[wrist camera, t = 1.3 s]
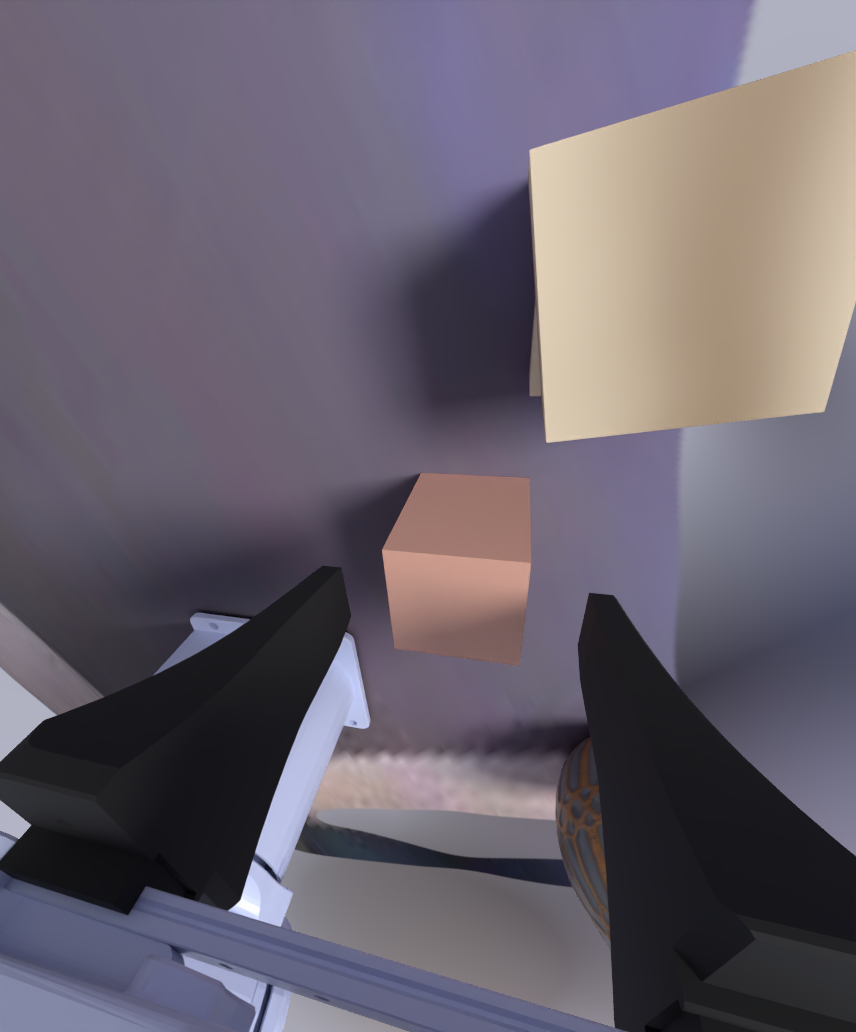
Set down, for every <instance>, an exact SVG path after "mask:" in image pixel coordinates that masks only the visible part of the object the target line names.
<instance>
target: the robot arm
mask: <svg viewBox="0 0 856 1032" xmlns="http://www.w3.org/2000/svg"><path fill="white" fill-rule="evenodd" d="M350 617H351V614H350V609H349V604H348V599H347V594H346V589H345V584H344V579H343V574H342V569H341V568H340V567H330V566H322V567H321V568H319V569H318V570H316V571H315V572H314V573H312V574H311V575H310V576H308V577H307V578H306V579H304V580H303V581H302V582H301V583H299V584H298V585H297V586H295V587H294V588H293V589H292V590H290V591H289V592H288V593H286V594H285V595H284V596H282V597H281V598H280V599H278V600H277V601H276V602H274V603H273V604H272V605H270V606H269V607H268V608H266V609H265V610H263V611H262V612H260V613H259V614H258V615H256V616H255V617H253V618H252V619H244V618H236V617H229V616H221V615H214V614H206V613H195V614H194V615H193V616H192V617H191V618H190V622H191V624H192V626H193V628H194V631H193V632H192V633H191V634H190V635H189V637H188V638H187V639H186V640H185V641H184V642H183V643H182V644H181V645H180V646H179V648H178V649H177V650H176V651H175V652H174V653H173V654H172V655H171V656H170V657H169V659H168V660H167V661H166V662H165V663H164V664H163V665H162V666H161V667H160V668H159V670H158V671H157V672H156V673H155V674H154V675H153V676H151V677H149V678H147V679H145V680H143V681H141V682H139V683H136V684H134V685H132V686H130V687H127V688H125V689H123V690H120V691H118V692H116V693H114V694H111V695H109V696H106V697H104V698H102V699H99V700H97V701H94V702H91V703H89V704H86V705H84V706H81V707H78V708H76V709H73V710H70V711H68V712H65V713H63V714H60V715H57V716H55V717H52V718H49V719H46V720H44V721H43V722H42V723H41V724H39V725H38V726H37V727H36V728H35V729H34V730H33V731H32V732H31V733H30V734H29V735H28V736H27V737H26V738H25V739H24V740H23V741H22V742H21V743H20V744H18V745H17V746H16V747H15V748H14V749H13V750H12V751H11V752H10V753H9V754H8V755H7V756H6V757H5V758H4V759H3V760H2V761H1V762H0V800H1V801H2V802H4V803H5V804H6V805H7V806H9V807H10V808H11V809H12V810H14V811H15V812H16V813H17V814H19V815H20V816H21V817H22V818H24V819H25V820H26V821H27V822H29V823H30V824H31V826H30V828H29V829H28V830H27V831H26V832H25V833H24V834H23V836H22V837H21V838H20V839H18V838H16V837H14V836H12V835H10V834H7V833H4V832H2V831H0V1032H283V1028H284V1024H285V1020H286V1016H287V1012H288V1007H289V1002H290V997H291V992H293V993H296V994H299V995H302V996H305V997H308V998H311V999H314V1000H317V1001H320V1002H323V1003H326V1004H329V1005H332V1006H335V1007H338V1008H341V1009H344V1010H347V1011H350V1012H353V1013H356V1014H359V1015H362V1016H365V1017H368V1018H371V1019H374V1020H377V1021H379V1022H382V1023H385V1024H388V1025H391V1026H394V1027H397V1028H401V1029H403V1030H406V1031H409V1032H856V856H855V855H853V854H852V853H851V852H850V851H848V850H847V849H846V848H845V847H844V846H842V845H841V844H840V843H839V842H838V841H836V840H835V839H834V838H833V837H832V836H830V835H829V834H828V833H827V832H826V831H825V830H824V829H822V828H821V827H820V826H819V825H818V824H817V823H815V822H814V821H813V820H812V819H811V818H810V817H808V816H807V815H806V814H805V813H804V812H803V811H801V810H800V809H799V808H798V807H797V806H796V805H795V804H793V803H792V802H791V801H790V800H789V799H788V798H787V797H786V796H785V795H784V794H783V793H781V792H780V791H779V790H778V789H777V788H776V787H775V786H774V785H773V784H772V783H771V782H770V781H769V780H768V779H767V778H766V777H764V776H763V775H762V774H761V773H760V772H759V771H758V770H757V769H756V768H755V767H754V766H753V765H752V764H751V763H750V762H748V761H747V760H746V759H745V758H744V757H743V756H742V755H741V754H740V753H739V752H738V751H737V750H736V749H735V748H734V747H733V746H732V745H731V744H730V743H729V742H728V741H727V740H726V739H725V738H724V736H723V735H722V734H721V733H720V732H719V731H718V730H717V729H716V728H715V727H714V726H713V725H712V724H711V723H710V722H709V720H708V719H707V718H706V717H705V716H704V715H703V714H702V713H701V712H700V710H699V709H698V708H697V707H696V706H695V705H694V703H693V702H692V701H691V700H690V699H689V698H688V696H687V695H686V694H685V693H684V692H683V690H682V689H681V688H680V687H679V686H678V684H677V683H676V682H675V681H674V679H673V678H672V677H671V676H670V674H669V673H668V672H667V671H666V669H665V668H664V667H663V665H662V664H661V663H660V661H659V660H658V659H657V657H656V656H655V655H654V653H653V652H652V651H651V649H650V648H649V647H648V645H647V644H646V642H645V641H644V640H643V638H642V637H641V635H640V634H639V632H638V631H637V629H636V628H635V627H634V625H633V624H632V622H631V621H630V619H629V618H628V616H627V615H626V613H625V611H624V610H623V608H622V607H621V605H620V604H619V602H618V600H617V599H616V598H615V597H614V596H613V595H605V594H595V593H589V596H588V601H587V605H586V610H585V614H584V619H583V624H582V628H581V633H580V637H579V642H578V655H579V671H580V682H581V688H582V694H583V699H584V705H585V710H586V716H587V721H588V726H589V732H590V737H591V742H592V748H593V753H594V759H595V764H596V771H597V778H598V785H599V795H600V806H601V817H602V828H603V841H604V853H605V866H606V880H607V895H608V910H609V925H610V943H611V961H612V981H613V1003H614V1022H615V1028H613V1027H610V1026H607V1025H603V1024H600V1023H597V1022H594V1021H590V1020H587V1019H583V1018H580V1017H577V1016H574V1015H570V1014H567V1013H563V1012H560V1011H557V1010H554V1009H551V1008H547V1007H544V1006H541V1005H537V1004H534V1003H531V1002H527V1001H524V1000H521V999H517V998H514V997H511V996H507V995H504V994H501V993H498V992H494V991H490V990H488V989H484V988H481V987H478V986H474V985H471V984H468V983H464V982H461V981H458V980H454V979H451V978H448V977H444V976H441V975H438V974H434V973H431V972H428V971H425V970H421V969H418V968H415V967H412V966H408V965H405V964H401V963H398V962H394V961H392V960H388V959H385V958H382V957H378V956H375V955H372V954H368V953H365V952H362V951H359V950H355V949H352V948H349V947H345V946H342V945H339V944H335V943H332V942H329V941H325V940H322V939H319V938H315V937H312V936H309V935H306V934H302V933H299V932H296V931H292V929H291V925H290V923H289V921H288V920H287V918H286V917H285V914H286V911H287V908H288V906H289V903H290V900H291V897H292V895H293V892H292V891H291V890H289V889H288V888H286V887H284V886H283V885H281V882H282V879H283V877H284V874H285V871H286V869H287V866H288V864H289V861H290V859H291V856H292V854H293V851H294V849H295V846H296V844H297V841H298V839H299V836H300V834H301V831H302V829H303V826H304V824H305V821H306V819H307V816H308V814H309V811H310V808H311V806H312V803H313V801H314V798H315V796H316V793H317V791H318V788H319V786H320V783H321V781H322V778H323V776H324V773H325V771H326V768H327V766H328V763H329V761H330V758H331V756H332V753H333V751H334V748H335V745H336V743H337V740H338V738H339V735H340V733H341V730H342V728H343V725H345V726H350V727H356V728H361V729H365V728H367V727H369V724H370V716H369V711H368V706H367V701H366V696H365V691H364V686H363V682H362V677H361V672H360V667H359V662H358V657H357V652H356V647H355V642H354V639H353V637H352V636H351V635H350V634H349V633H347V632H346V629H347V626H348V623H349V620H350Z"/></svg>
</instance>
